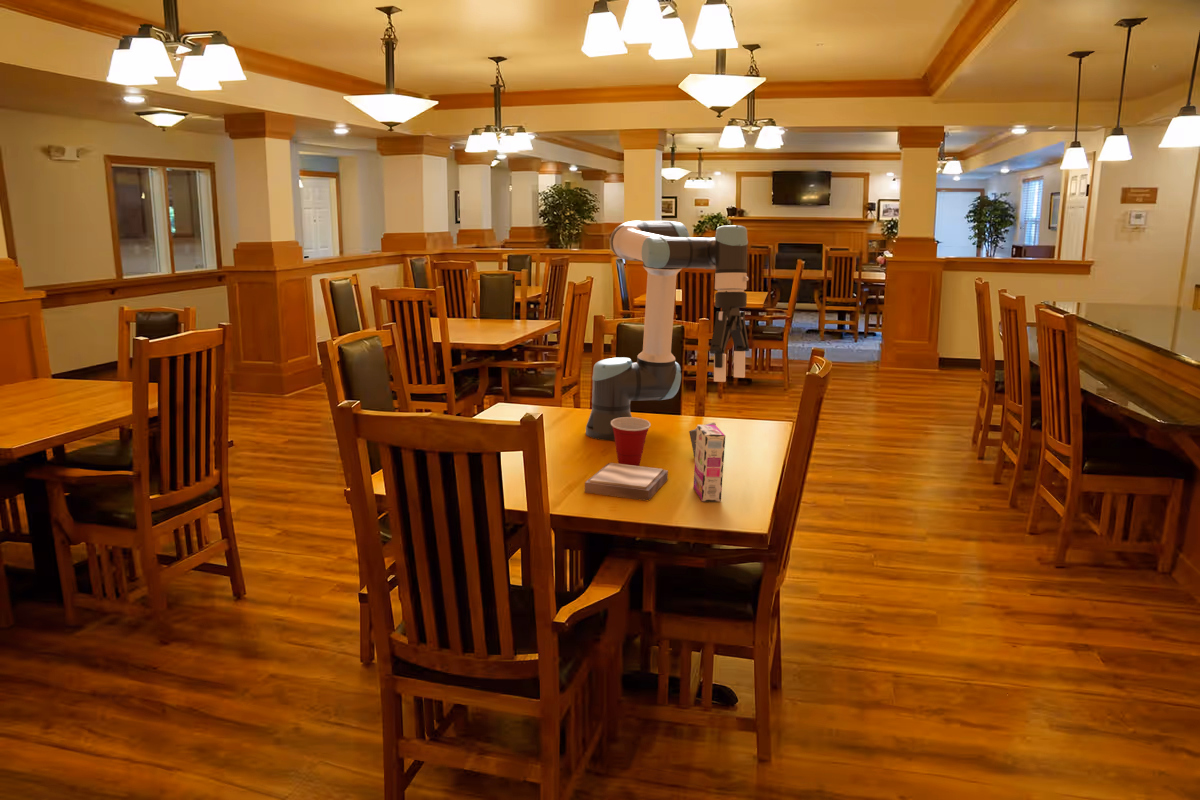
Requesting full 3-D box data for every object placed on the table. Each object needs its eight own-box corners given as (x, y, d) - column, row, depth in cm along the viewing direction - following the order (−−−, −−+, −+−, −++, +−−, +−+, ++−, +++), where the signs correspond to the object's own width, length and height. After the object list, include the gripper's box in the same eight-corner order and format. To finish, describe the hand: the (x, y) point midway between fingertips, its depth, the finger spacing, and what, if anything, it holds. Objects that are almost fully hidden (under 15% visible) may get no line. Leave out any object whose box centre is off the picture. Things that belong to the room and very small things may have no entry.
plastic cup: (612, 471, 224) (614, 426, 221) (606, 459, 234) (607, 417, 232) (653, 470, 226) (654, 426, 223) (644, 458, 236) (646, 416, 234)
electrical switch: (704, 461, 235) (703, 428, 234) (688, 459, 239) (687, 426, 237) (721, 454, 242) (720, 422, 241) (706, 453, 246) (705, 421, 244)
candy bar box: (722, 502, 201) (726, 435, 198) (701, 502, 201) (705, 435, 197) (712, 487, 212) (715, 423, 209) (692, 487, 212) (695, 423, 208)
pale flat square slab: (608, 472, 223) (608, 461, 222) (667, 479, 218) (668, 468, 217) (584, 492, 206) (585, 480, 205) (648, 500, 201) (648, 488, 200)
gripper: (727, 290, 192) (726, 384, 194) (762, 291, 213) (760, 376, 216) (696, 290, 195) (695, 382, 197) (733, 292, 217) (732, 375, 219)
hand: (729, 379), depth 207 cm, fingers open, 13 cm apart
